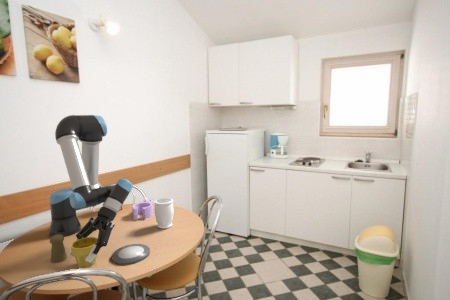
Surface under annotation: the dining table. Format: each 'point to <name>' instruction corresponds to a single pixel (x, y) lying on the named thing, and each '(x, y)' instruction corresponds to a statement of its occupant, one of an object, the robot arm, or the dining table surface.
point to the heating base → (130, 254)
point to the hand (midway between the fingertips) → (79, 258)
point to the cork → (57, 249)
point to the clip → (143, 209)
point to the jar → (164, 212)
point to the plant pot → (83, 251)
